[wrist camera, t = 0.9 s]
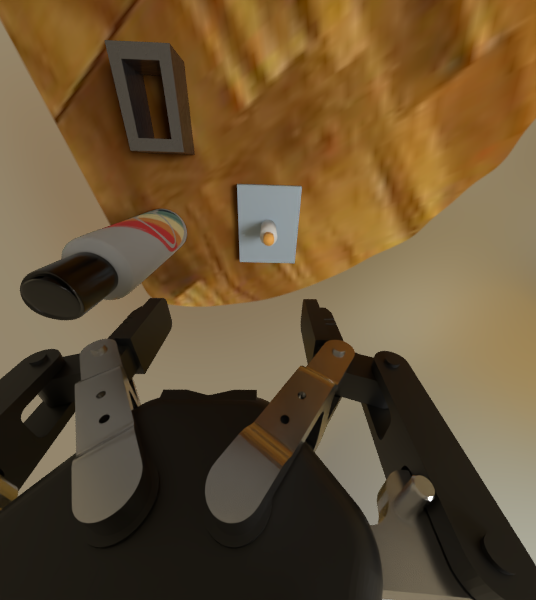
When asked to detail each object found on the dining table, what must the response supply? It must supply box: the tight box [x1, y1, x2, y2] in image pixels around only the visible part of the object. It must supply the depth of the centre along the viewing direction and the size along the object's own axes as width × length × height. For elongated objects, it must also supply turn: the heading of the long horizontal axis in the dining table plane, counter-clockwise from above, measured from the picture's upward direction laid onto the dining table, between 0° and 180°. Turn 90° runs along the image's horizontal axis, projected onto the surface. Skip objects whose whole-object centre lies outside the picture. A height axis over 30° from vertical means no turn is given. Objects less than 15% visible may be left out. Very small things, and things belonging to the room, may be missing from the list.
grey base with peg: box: [237, 184, 302, 263], centre depth 28 cm, size 10×8×8 cm
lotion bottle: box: [20, 209, 187, 320], centre depth 23 cm, size 6×6×20 cm
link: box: [105, 40, 195, 155], centre depth 23 cm, size 8×6×4 cm
